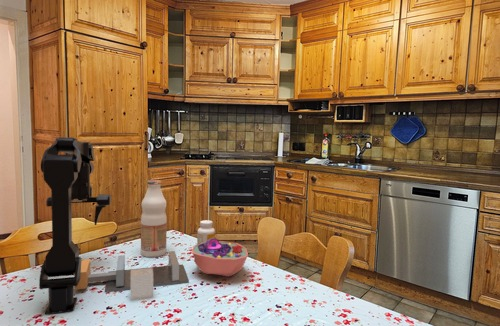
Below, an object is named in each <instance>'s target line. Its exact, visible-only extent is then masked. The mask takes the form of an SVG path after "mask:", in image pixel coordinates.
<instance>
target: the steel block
mask: <svg viewBox="0 0 500 326" xmlns="http://www.w3.org/2000/svg"><path fill="white" fill-rule="evenodd" d="M145 268H146V269H140V268H135V269H136V270H131V289H130V301H134V300H142V299H149V298H154V287H153V268H150V267H145Z"/></svg>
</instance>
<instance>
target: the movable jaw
mask: <svg viewBox="0 0 500 326" xmlns="http://www.w3.org/2000/svg"><path fill="white" fill-rule="evenodd" d="M125 257H126V256H125V255H117V260H116V269H115V271H116V272H109V271H107V272H100V273H99V272H98V273H97V272H96V273H91V271H92V270H91V268H92V266H91V259H90V258H89V259H88V258H87V259H81V277H80V281H79V283H78V285H77V286H74V290H75V291H76V290H85V289H87V288H88V287H87V286H88V284H89V283H100V282H106V281H109V280H116V287H118V286H124V272H125V270H126V269H125V265H126V264H125ZM73 277H75V275H73Z"/></svg>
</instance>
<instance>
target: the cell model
mask: <svg viewBox="0 0 500 326" xmlns="http://www.w3.org/2000/svg"><path fill="white" fill-rule="evenodd" d="M191 253H192V255H193V259H194V263H195V265H196V267H197V268H198V269H199V270H200V272H201V273H204V274H207V275H213V276H214V275H219V276H223V277H231V276H234V275H235V274H237V273H238V272H240V271H241V270H242V269H243V267H244V265H245V264H246V260H247V258H248V256H249V253H248V250H247V247H245V246H244V245H242V244H240V243H237V242H232V241H231V242H230V241H222V240H219V239H218V238H216V237H215V238H211V239H208V240H207V241H205V242H202V243H199V244H195V245H194V246H193V247H192V248H191Z"/></svg>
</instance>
